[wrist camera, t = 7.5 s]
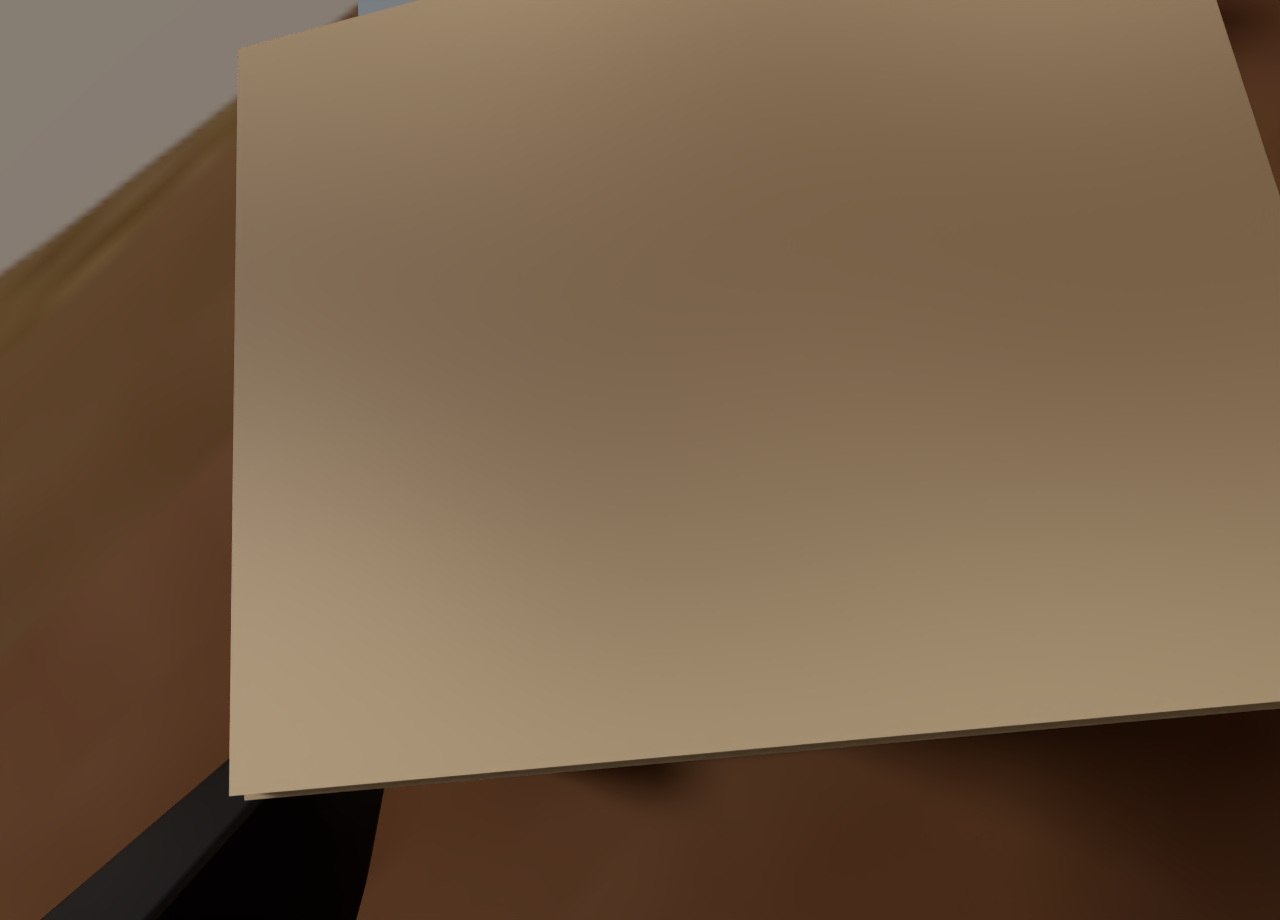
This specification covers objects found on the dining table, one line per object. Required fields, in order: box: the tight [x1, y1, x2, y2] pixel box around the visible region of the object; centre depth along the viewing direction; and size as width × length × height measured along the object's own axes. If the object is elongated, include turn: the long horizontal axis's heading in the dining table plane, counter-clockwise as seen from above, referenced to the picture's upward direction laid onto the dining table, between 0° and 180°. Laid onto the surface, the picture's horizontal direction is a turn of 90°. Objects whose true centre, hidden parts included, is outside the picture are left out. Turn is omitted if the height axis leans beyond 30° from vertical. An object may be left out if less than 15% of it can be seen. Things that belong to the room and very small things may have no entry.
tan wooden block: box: [229, 0, 1280, 800], centre depth 11 cm, size 5×6×13 cm
